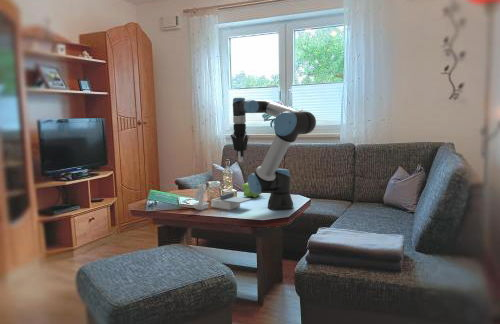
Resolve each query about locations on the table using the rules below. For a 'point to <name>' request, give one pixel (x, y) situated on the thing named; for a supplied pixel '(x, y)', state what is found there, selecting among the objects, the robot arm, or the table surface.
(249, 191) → the green lumpy block
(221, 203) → the mailer box
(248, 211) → the table surface
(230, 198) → the lid
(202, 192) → the figurine
